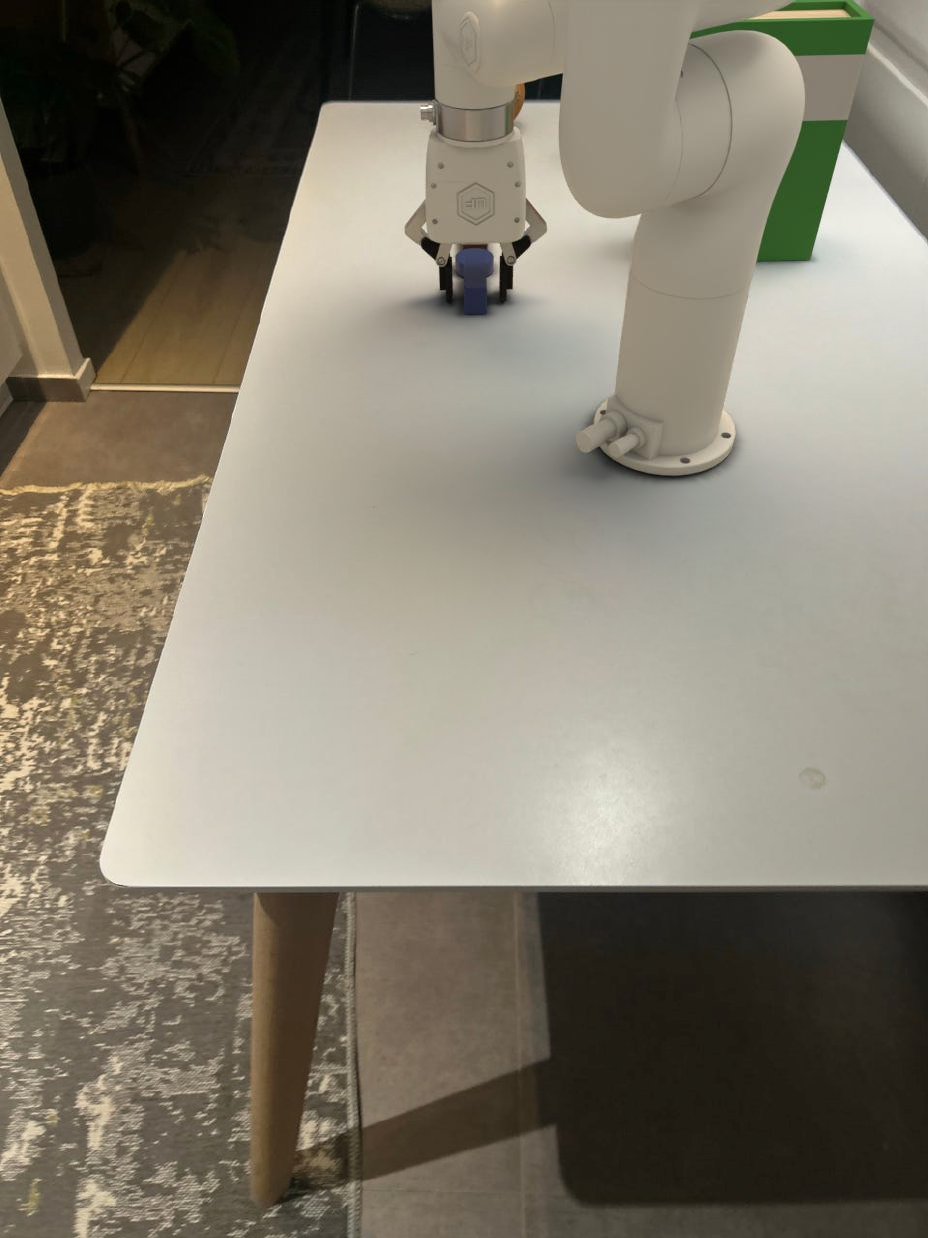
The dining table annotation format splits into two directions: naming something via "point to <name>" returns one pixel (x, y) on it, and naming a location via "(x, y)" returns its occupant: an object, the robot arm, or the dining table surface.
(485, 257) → the blue block and puck
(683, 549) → the dining table surface
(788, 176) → the hardback book
